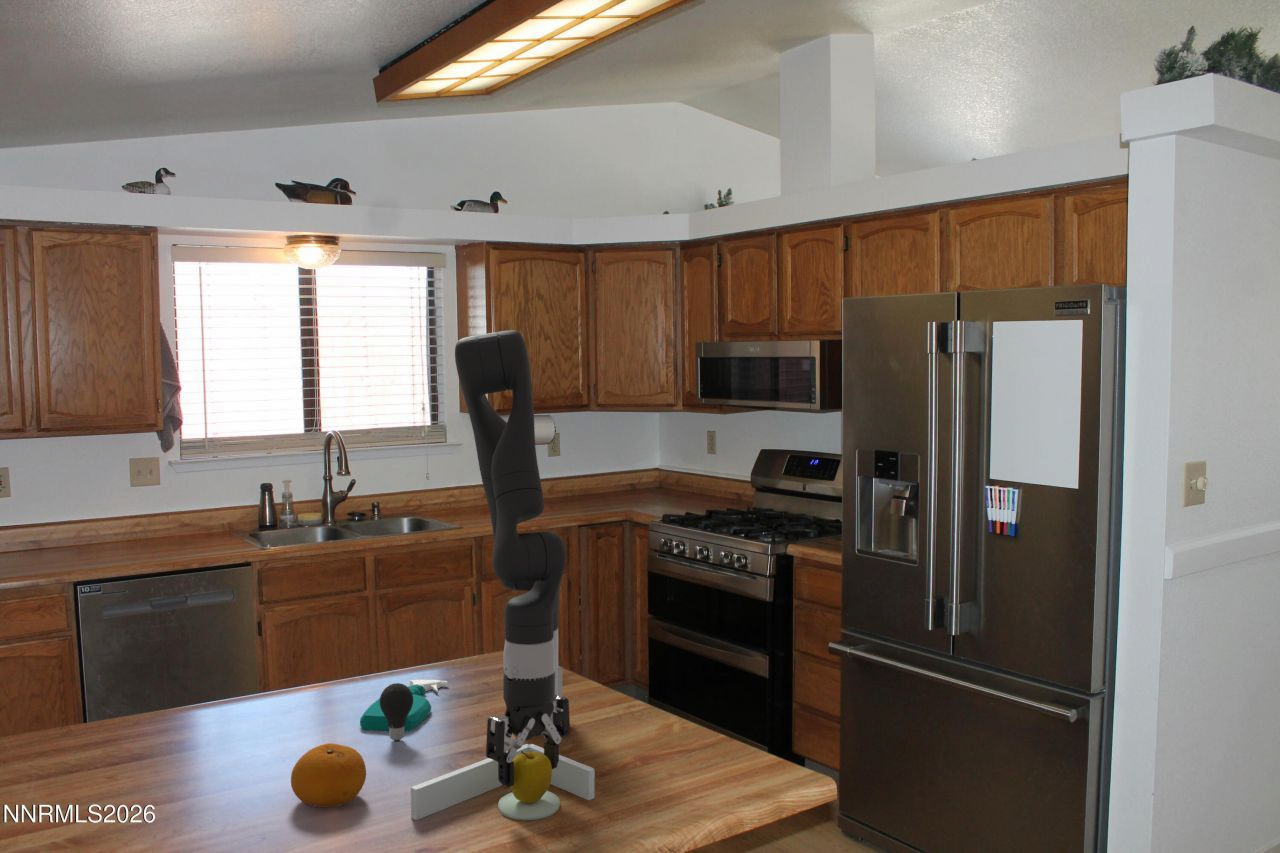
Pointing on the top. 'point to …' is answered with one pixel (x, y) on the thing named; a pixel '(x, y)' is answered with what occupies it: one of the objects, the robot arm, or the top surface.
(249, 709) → the top surface
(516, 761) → the apple
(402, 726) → the light bulb
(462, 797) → the grey corner wall
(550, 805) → the pad
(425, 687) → the spray bottle
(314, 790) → the fruit
